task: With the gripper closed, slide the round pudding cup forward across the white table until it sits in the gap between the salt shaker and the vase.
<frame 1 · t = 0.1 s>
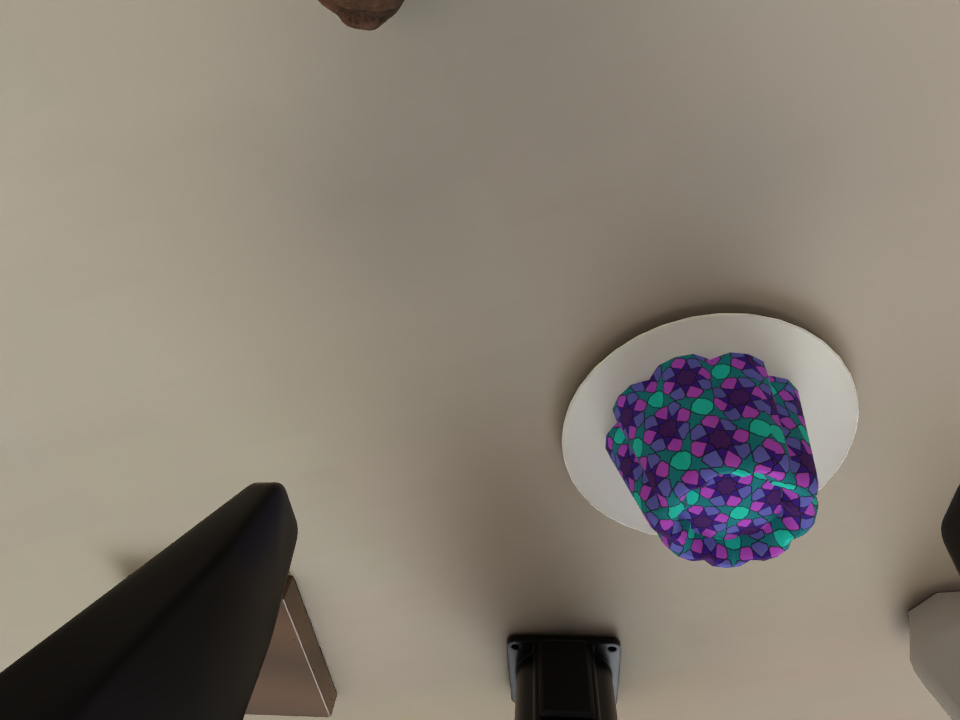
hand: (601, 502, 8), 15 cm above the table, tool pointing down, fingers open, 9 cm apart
pudding: (698, 425, 25), on the table
salt shaker: (947, 611, 30), on the table
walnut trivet: (240, 638, 36), on the table
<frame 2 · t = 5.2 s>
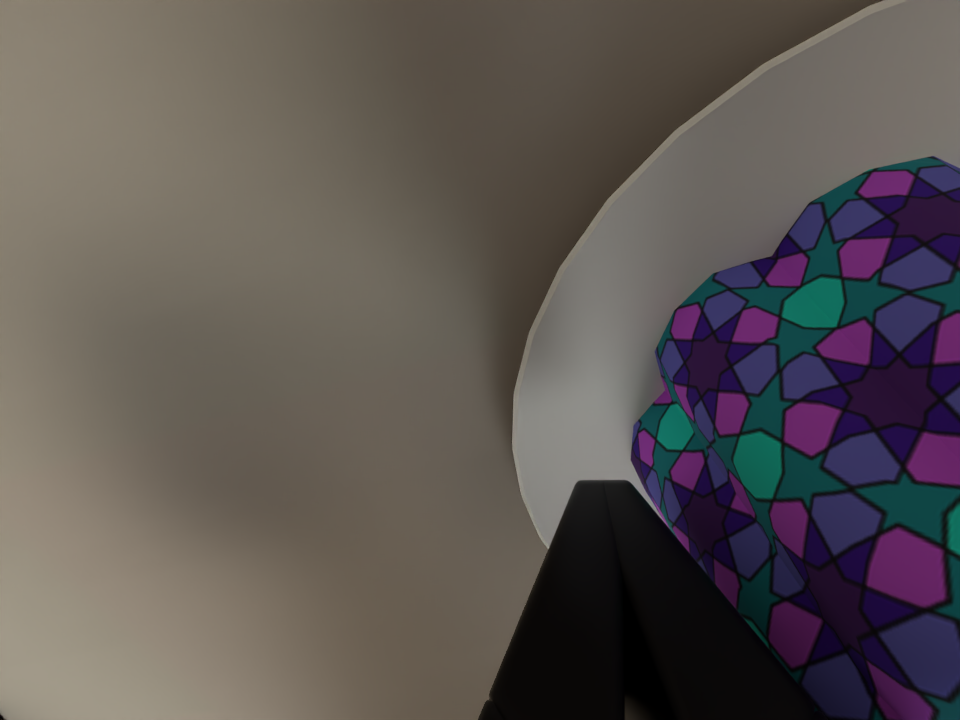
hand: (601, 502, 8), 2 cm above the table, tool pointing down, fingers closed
pudding: (886, 402, 9), on the table, touching gripper
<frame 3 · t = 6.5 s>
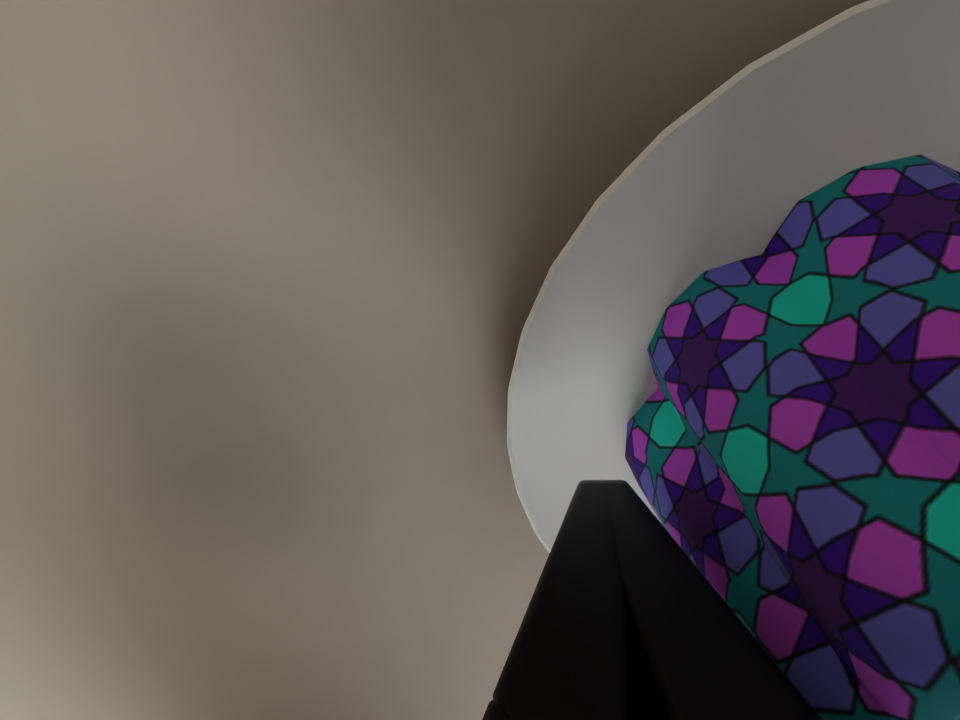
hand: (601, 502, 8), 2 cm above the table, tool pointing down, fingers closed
pudding: (878, 399, 9), on the table, touching gripper
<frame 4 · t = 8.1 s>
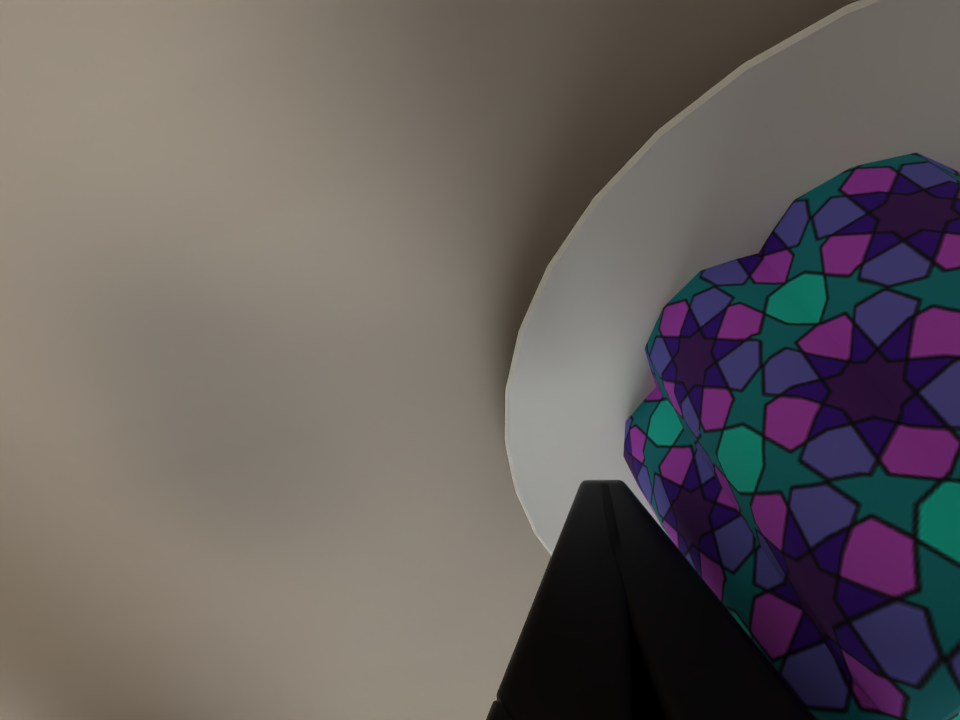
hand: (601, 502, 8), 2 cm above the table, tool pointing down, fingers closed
pudding: (877, 398, 9), on the table, touching gripper
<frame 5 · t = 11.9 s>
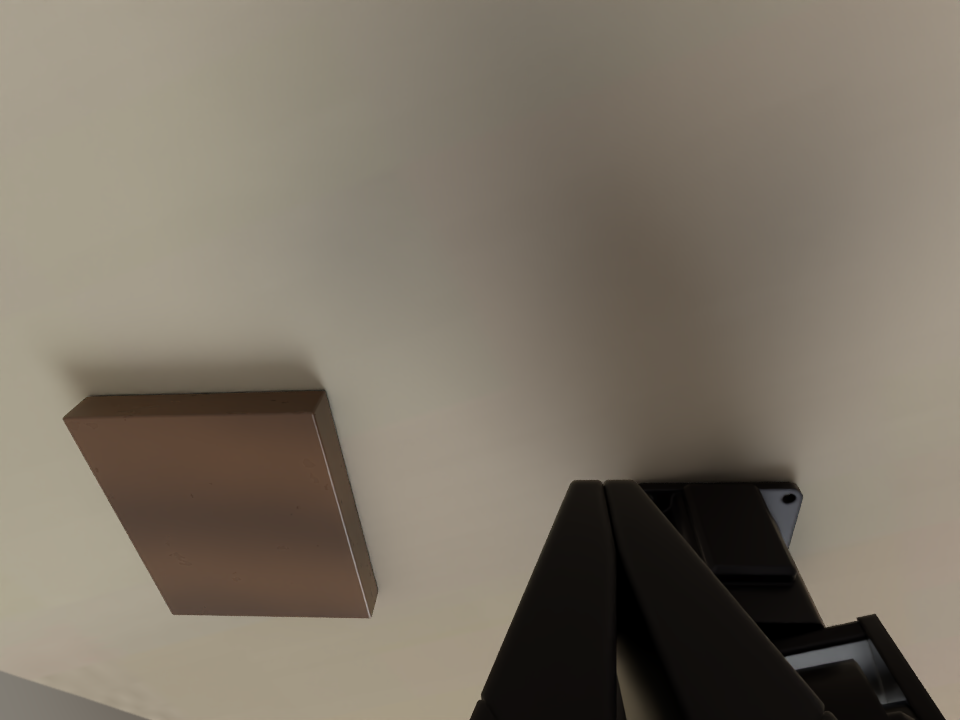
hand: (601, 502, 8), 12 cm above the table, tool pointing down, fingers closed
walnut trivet: (247, 503, 26), on the table
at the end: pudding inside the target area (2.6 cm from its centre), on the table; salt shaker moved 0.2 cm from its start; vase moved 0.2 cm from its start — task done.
